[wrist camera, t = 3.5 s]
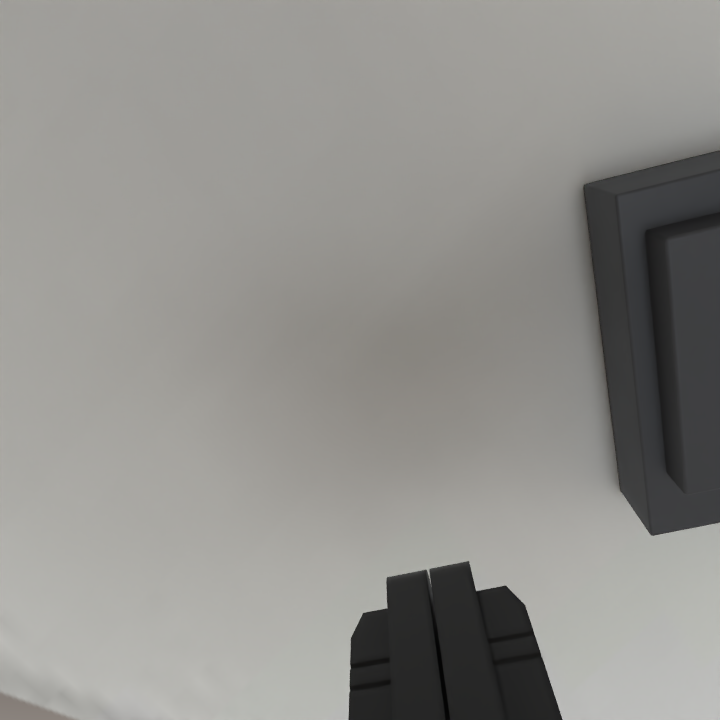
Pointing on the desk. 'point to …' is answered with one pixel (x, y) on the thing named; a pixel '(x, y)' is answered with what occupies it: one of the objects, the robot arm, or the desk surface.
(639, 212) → the dark raised-panel slab
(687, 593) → the desk surface
